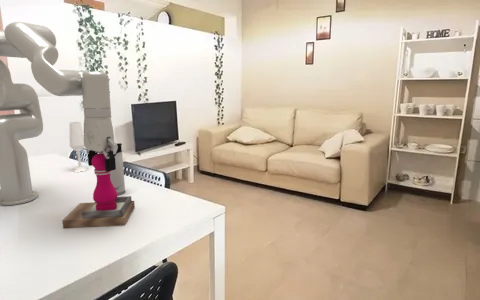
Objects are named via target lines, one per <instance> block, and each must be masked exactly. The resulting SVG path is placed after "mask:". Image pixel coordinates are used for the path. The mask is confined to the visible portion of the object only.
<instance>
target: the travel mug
mask: <svg viewBox="0 0 480 300" xmlns="http://www.w3.org/2000/svg"><path fill="white" fill-rule="evenodd" d="M116 144H117V145H118V149H117V154H116V157H115V163H116V169H115V170H112V172H111V173H110V179H111V182H112V184H113V186H114V187H115V189H116V191H117V196H121V195H123V194H125V193H126V185H125V184H126V182H125V170H124V161H123V158H124V157H123V149H122V146H123V143H121V142H120V143H118V142H117V143H116ZM109 152H110V151H109ZM109 152H107V153H108V154H109Z"/></svg>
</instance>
